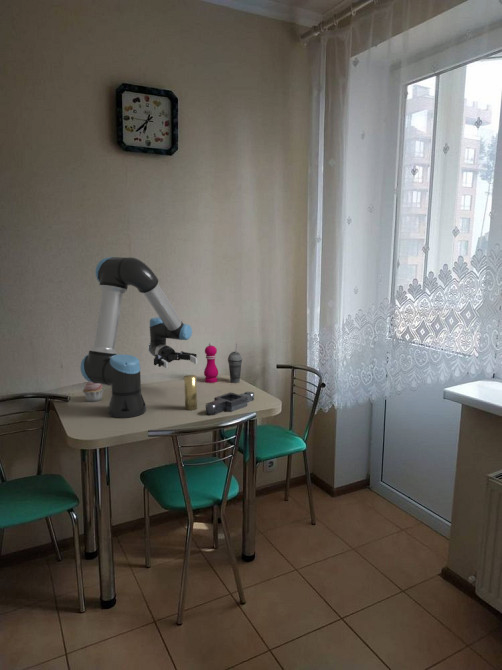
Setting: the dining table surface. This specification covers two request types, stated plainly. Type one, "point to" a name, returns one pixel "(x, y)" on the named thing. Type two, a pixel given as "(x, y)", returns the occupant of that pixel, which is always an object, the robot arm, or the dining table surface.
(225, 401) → the chain end
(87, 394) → the cupcake
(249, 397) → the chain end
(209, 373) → the pepper mill
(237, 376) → the beverage cup
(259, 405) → the dining table surface
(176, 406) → the dining table surface
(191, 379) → the gold tall cylinder
